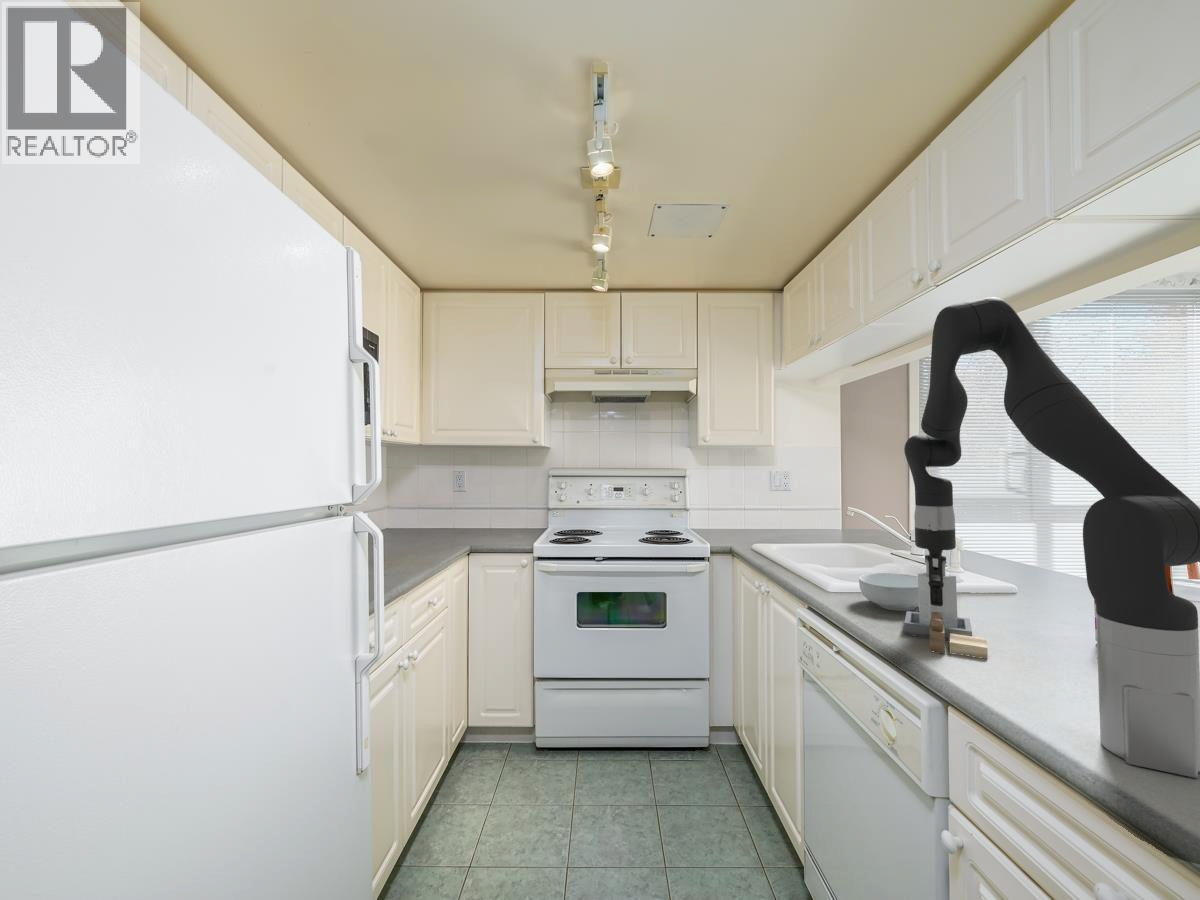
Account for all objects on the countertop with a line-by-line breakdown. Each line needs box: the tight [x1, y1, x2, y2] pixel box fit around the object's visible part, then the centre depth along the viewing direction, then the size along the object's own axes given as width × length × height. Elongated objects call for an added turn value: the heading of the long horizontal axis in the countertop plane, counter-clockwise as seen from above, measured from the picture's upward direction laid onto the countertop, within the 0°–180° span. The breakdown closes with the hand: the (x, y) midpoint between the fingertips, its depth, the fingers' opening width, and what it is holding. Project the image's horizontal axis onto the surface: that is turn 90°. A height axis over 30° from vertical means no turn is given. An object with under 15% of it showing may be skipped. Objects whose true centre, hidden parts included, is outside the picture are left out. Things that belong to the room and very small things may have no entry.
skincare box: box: [917, 572, 958, 628], centre depth 116 cm, size 6×4×12 cm
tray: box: [904, 610, 973, 641], centre depth 117 cm, size 10×12×2 cm
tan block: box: [949, 633, 989, 660], centre depth 105 cm, size 6×6×2 cm
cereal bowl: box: [858, 572, 919, 612], centre depth 137 cm, size 17×17×7 cm
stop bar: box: [929, 612, 946, 654], centre depth 108 cm, size 8×2×6 cm, turn 148°
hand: (936, 600), depth 117 cm, fingers open, 8 cm apart
